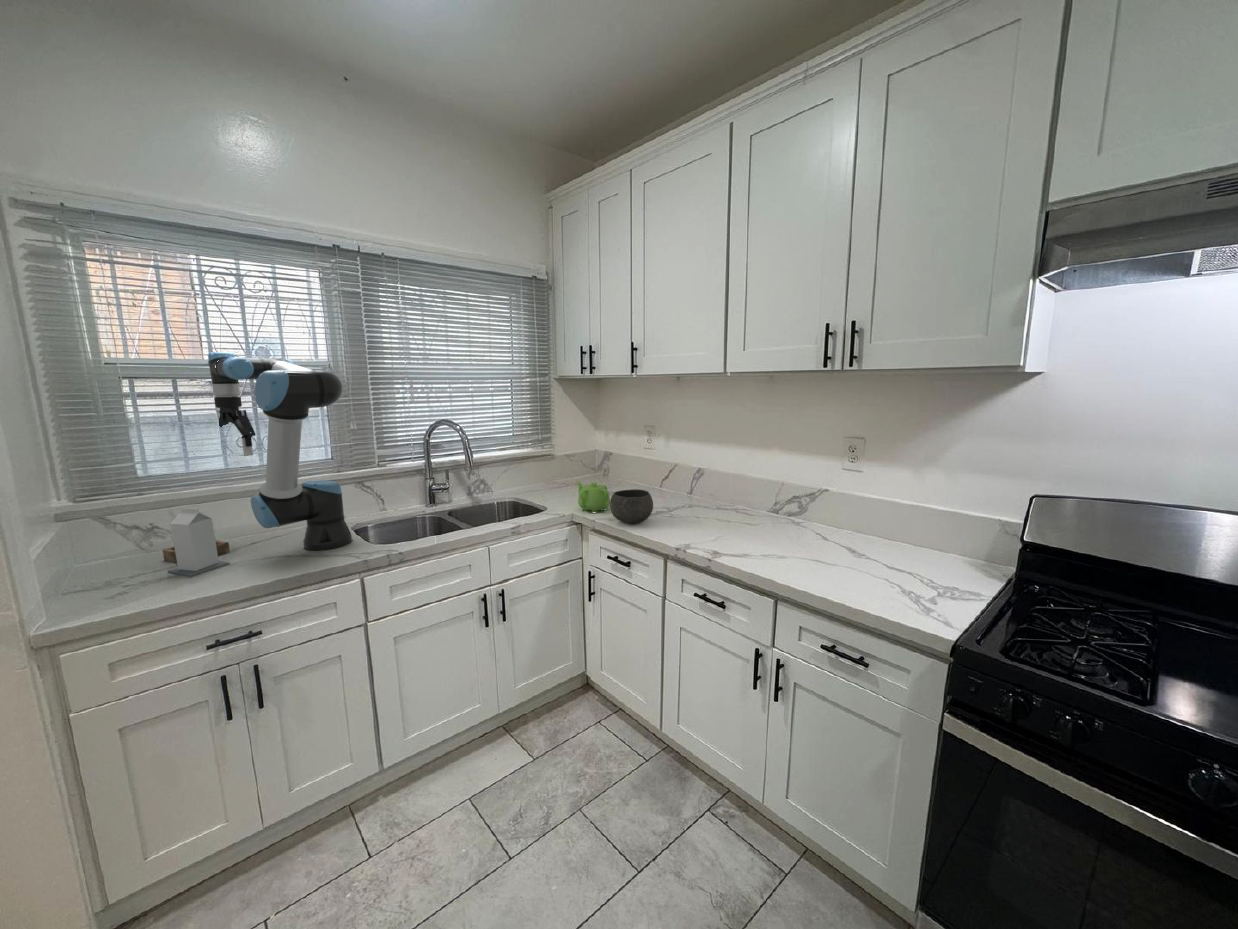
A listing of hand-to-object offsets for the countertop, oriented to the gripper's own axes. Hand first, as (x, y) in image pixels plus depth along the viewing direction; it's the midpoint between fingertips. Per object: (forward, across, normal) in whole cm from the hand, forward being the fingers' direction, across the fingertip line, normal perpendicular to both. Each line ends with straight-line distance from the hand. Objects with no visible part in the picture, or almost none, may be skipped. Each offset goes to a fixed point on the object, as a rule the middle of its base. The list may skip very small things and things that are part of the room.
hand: (235, 454), depth 178 cm
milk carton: (+31, -17, +26) cm, 44 cm away
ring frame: (+32, -4, +19) cm, 37 cm away
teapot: (+32, -108, -79) cm, 138 cm away
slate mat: (+32, -17, +26) cm, 44 cm away
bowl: (+32, -131, -66) cm, 150 cm away
